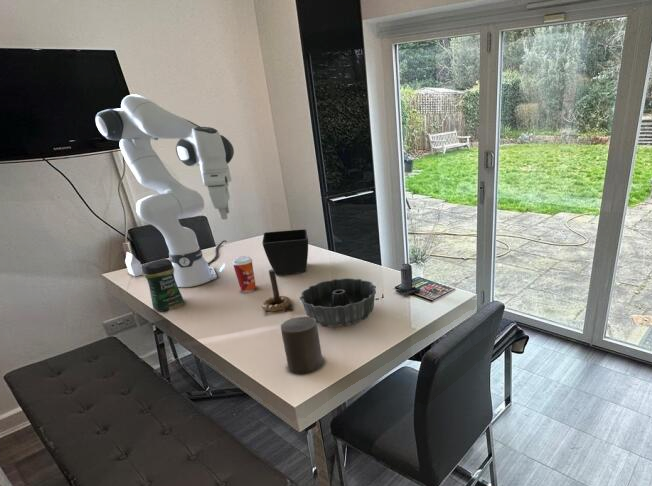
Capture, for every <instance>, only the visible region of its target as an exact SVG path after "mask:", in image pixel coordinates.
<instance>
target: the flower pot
mask: <svg viewBox="0 0 652 486" xmlns="http://www.w3.org/2000/svg"><path fill="white" fill-rule="evenodd" d="M307 231H308V230H307V228H306V229H305V228H303V229H289V230H279V231H266V232H263V237H262V242H261V244H262V247H263V250H264V253H265V255H266V258H267V260H268V262H269V264H270V267H271V268H272V269H271V270H275V276H284V275H294V274H302V273H305V272H306V271H307V265H308V258H309V257H308V256H309V237H308V232H307Z"/></svg>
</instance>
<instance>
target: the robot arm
mask: <svg viewBox="0 0 652 486" xmlns="http://www.w3.org/2000/svg"><path fill="white" fill-rule="evenodd" d="M94 118H95V119H94V121H95V125H96V127H97V129H98V131H99V133H100V134H101V135H102V136H103V137H104V138H106V139H107V140H111V141H119V148H120V151H121V154H122V156H123V158H124V160H125V162H126V164H127V165H128V167H129V168H130V170H131V172H132V173H133V175H134V177H135V178H136V180H137V181H138V183H139V184H140V185H141V186H142V187H144V188H147V189H149V190H151V191H152V190H153V191H156V192H157V193H158V194H152V195H148V196H146V197H143V198H141V199H139V200H138V201H137V202H136V204H135V211H136V214H137V216H138V218H139V219H141V220H142V222H145V223H146V224H149V225H151V226H153V227H155V228H156V229H157V230H158V231H159V232H160V233H161V235H162V236H163V238H164V241H165V244H166V247H167V249H168V259H169V260H170V261H171V263H172V265H173V267H174V278H175V281H176V284H177V286H178V288H191V287H196V286H201V285H203V284H207V283H209V282H210V281H213V280H216V279H218V276H217V273H216V271H215V269H214V267H213V266H209V265H211V264H212V263H213V262H214V261H215V260H216V259H217V258H218V248H219V247H220V246H222V244H223V243H227V242H228V241H227V240H225V239H223V240H221V242H219V244H218V245H217V246H216V247H215V256H214V257H213V259H212V260H210V261H209V262H208V261H207V259H206V258H205V257H204V256H203V255H204V254H203V251H202V249H201V247H200V245H199V242H198V238H197V235H196V232H195V231H194V230H193V229H192V228H189V227H187V226H182V224H181V223H180V219H185V218H188V217H193V216H195V215H197V214H200V213H201V212H203V210H204V208H205V200H204V198H203V195H202V194H200V192H199V191H197V190H194V189H192V188H189V187H188V186H186V185H184V184H182V183H181V182H180V181H179V180H177V179H176V178H174V176H173V175H172V174H171V173H170V172H169V170H168V169H167V168H166V165H165V164H164V163H163V161H162V160H161V158H160V156H159V155H158V154H157V151H155V149H154V148H153V146H152V144H151V143H152V142H151V140H153V141H158V140H159V139H161V140H162V139H165V140H166V139H167V140H168V139H169V140H170V139H171V140H173V139H174V140H178V141H177V143H176V145H175V153H176V155H177V158H178V160H179V161H180V162H181V163H182V164H184V165H185V166H188V167H199V170H200V174H201V178H202V179H201V180H202V182H203V185H204V187H206V189H207V191H208V195H209V198H210V200H211V203H212V206H213V208H214V209H215V210H218V212H219V215H220V219H221V220H228V214H229V213H230V208H229V202H230V201H229V200H230V197H231V195H230V191H229V188H228V187H229V186H230V185H229V183H230V182H232V175H231V172H230V166H229V163H230V162H231V161H232V159H233V157H234V154H235V150H234V145H233V144H232V143H231V141H230V140H229V139H228V138H227V137H225V136H224V135H222V134H221V133H220V132H219V130H218V129H216V128H214V127H211V126H200V125H198V124H197V123H195V122H193V121H191V120H188V119H186V118H184V117H181V116H179V115H176V114H174V113H172V112H171V111H168V110H167V109H165V108H164V107H162V106H160V105H158V104H157V103H155V102H154V101H152V100H151V99H149V98H146V97H145V96H142V95H139V94H129V95H126V96H125V97H123V99H122V100H121V104H120V108H108V109H104V110H101V111H99V112H97V114H96V115H95V117H94ZM225 266H226V264H225V263H223V264H222V266H221V267H220V269H219V272H220V273H221V272H222V271H223V270H224V268H225Z"/></svg>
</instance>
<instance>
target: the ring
mask: <svg viewBox="0 0 652 486" xmlns="http://www.w3.org/2000/svg"><path fill="white" fill-rule="evenodd" d="M279 296H280V301H281V302H283V303H281V304H277V305H271V304H273V303H275V300H274V296H272V297H269V298H267V299H265V300H263V302H262V303H261V307H262V309H263V310H264V311H265V312H266V311H269V312H280V311H283V310H285V308H287V307H289V305H290V304H291V305H292V300H291V298H290V297H288V296H285V295H279ZM289 298H290V299H289Z"/></svg>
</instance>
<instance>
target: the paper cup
mask: <svg viewBox="0 0 652 486" xmlns="http://www.w3.org/2000/svg"><path fill="white" fill-rule="evenodd" d="M253 261H254V260H253V259H252V257H251V256H249V255H248V256H247V255H244V256H243V255H242V256H237V257H235V258H233V259H232V262H231V264H232V266H233V268H234V272H235V275H236V279H237V283H238V285H239V288H240V290H241V291H243V292H244V291H251V290H254V289H256V278H255V273H254V272H255V271H254V266H253V265H254V264H253Z"/></svg>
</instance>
